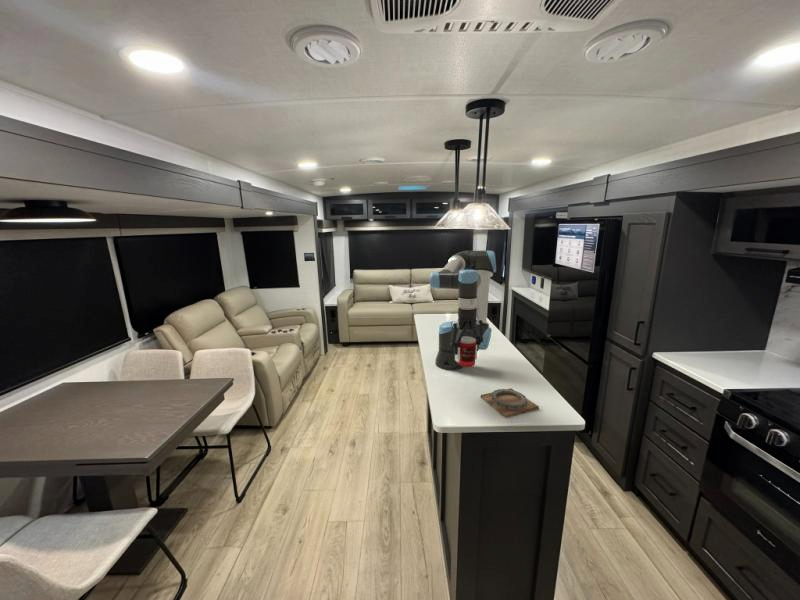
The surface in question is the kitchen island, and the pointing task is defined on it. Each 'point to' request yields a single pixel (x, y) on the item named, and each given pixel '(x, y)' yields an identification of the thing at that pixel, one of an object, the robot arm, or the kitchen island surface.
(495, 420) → the kitchen island surface
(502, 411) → the socket board
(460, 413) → the kitchen island surface
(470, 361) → the canned food
